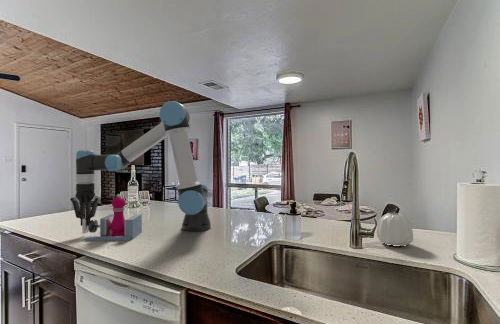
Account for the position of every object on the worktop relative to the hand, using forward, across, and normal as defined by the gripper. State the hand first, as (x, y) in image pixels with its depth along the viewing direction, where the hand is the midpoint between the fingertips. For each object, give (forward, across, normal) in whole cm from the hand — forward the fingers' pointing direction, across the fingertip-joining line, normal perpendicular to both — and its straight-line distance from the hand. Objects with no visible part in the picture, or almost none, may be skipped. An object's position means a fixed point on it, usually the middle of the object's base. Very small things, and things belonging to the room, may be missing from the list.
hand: (85, 232), depth 131 cm
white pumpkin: (+2, -140, +18) cm, 141 cm away
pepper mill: (+2, -16, 0) cm, 16 cm away
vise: (+2, -15, 0) cm, 15 cm away
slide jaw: (+2, -7, 0) cm, 8 cm away
